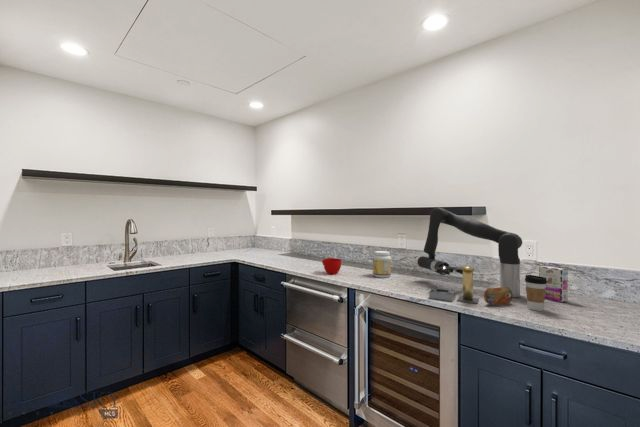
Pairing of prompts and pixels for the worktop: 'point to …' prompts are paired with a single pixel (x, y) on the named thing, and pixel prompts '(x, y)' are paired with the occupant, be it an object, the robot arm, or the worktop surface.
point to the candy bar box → (555, 283)
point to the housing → (442, 294)
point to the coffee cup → (535, 292)
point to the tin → (498, 295)
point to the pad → (474, 301)
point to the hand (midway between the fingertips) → (456, 272)
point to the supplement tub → (382, 264)
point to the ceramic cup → (332, 265)
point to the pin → (467, 282)
